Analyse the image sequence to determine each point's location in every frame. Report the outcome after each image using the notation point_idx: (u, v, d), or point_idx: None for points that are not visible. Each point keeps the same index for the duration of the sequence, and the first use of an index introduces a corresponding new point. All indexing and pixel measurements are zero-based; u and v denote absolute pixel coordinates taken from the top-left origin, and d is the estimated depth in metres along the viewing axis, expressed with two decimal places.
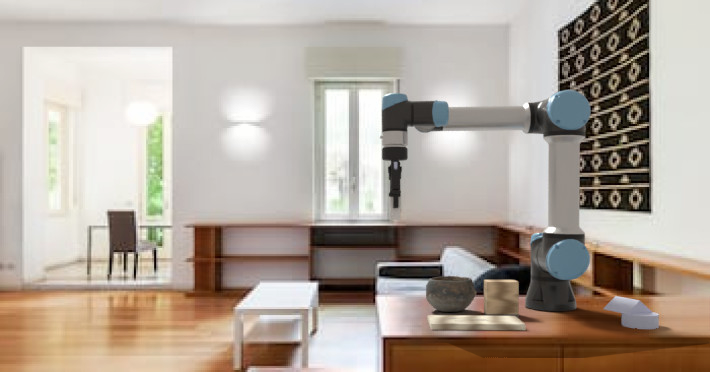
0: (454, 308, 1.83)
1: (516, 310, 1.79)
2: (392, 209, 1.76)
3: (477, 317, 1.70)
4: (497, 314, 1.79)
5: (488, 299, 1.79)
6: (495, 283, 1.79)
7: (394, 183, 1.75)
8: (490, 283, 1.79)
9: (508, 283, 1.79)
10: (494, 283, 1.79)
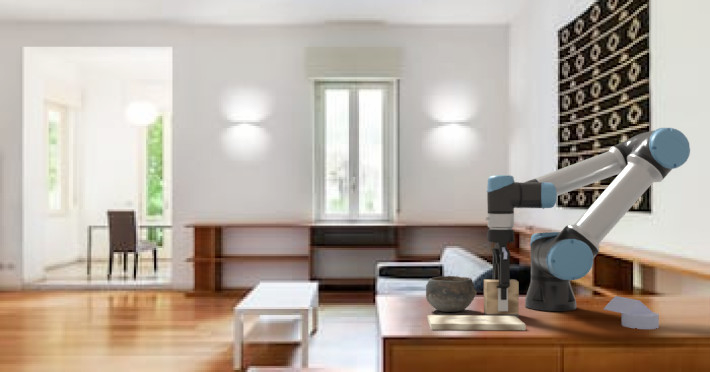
0: (454, 308, 1.83)
1: (516, 310, 1.79)
2: (500, 300, 1.78)
3: (477, 317, 1.70)
4: (497, 314, 1.79)
5: (488, 299, 1.79)
6: (495, 283, 1.79)
7: (503, 276, 1.75)
8: (490, 283, 1.79)
9: None
10: (494, 283, 1.79)
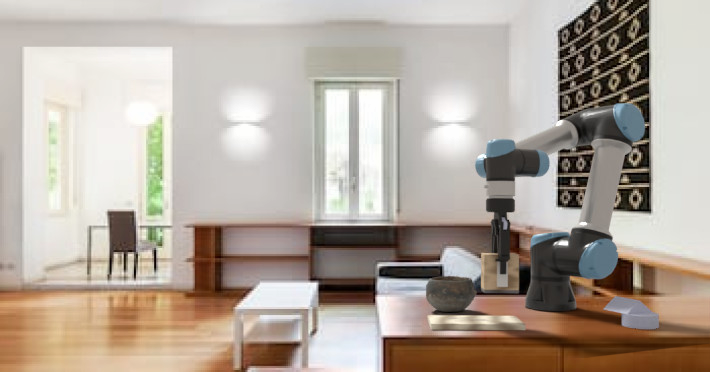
0: (454, 308, 1.83)
1: (516, 286, 1.64)
2: (499, 275, 1.63)
3: (477, 317, 1.70)
4: (495, 290, 1.64)
5: (486, 273, 1.64)
6: (494, 256, 1.64)
7: (503, 248, 1.61)
8: (488, 256, 1.64)
9: None
10: (492, 256, 1.64)
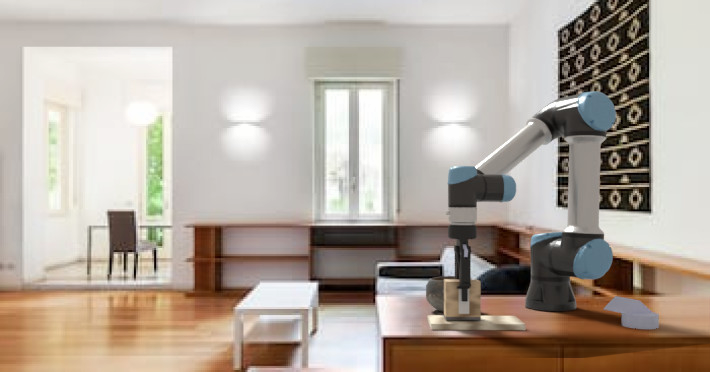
0: None
1: (477, 313, 1.64)
2: (460, 302, 1.64)
3: None
4: (457, 317, 1.64)
5: (447, 300, 1.64)
6: (455, 283, 1.64)
7: (464, 275, 1.61)
8: (450, 283, 1.64)
9: None
10: (454, 283, 1.64)
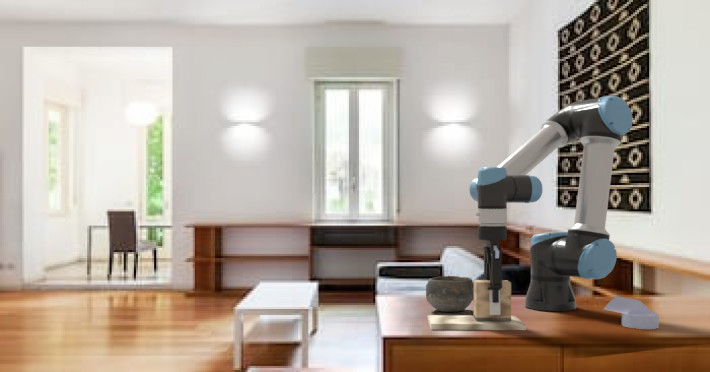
0: (454, 308, 1.83)
1: (508, 314, 1.64)
2: (491, 303, 1.63)
3: None
4: (487, 317, 1.64)
5: (478, 301, 1.64)
6: (486, 284, 1.64)
7: (495, 277, 1.61)
8: (480, 284, 1.64)
9: None
10: (484, 284, 1.64)
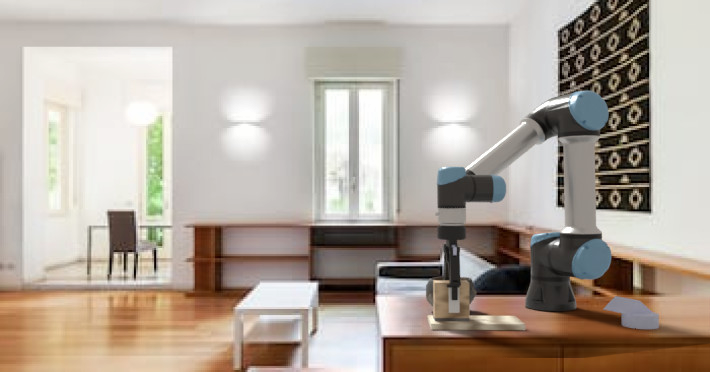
0: None
1: (466, 314, 1.64)
2: (450, 301, 1.62)
3: (477, 317, 1.70)
4: (446, 318, 1.64)
5: (436, 301, 1.65)
6: (444, 285, 1.65)
7: (453, 273, 1.59)
8: (438, 284, 1.65)
9: None
10: (443, 284, 1.65)
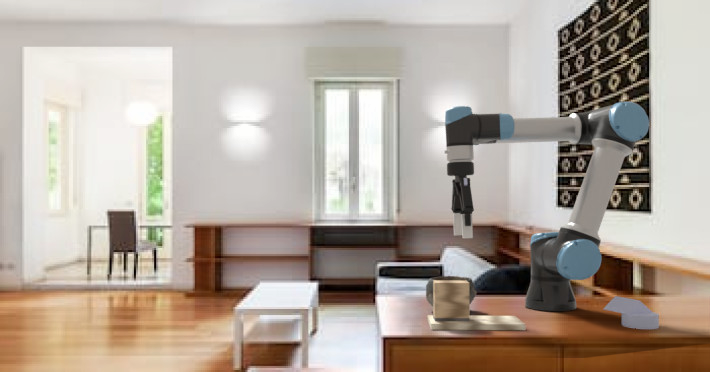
0: None
1: (466, 314, 1.64)
2: (464, 227, 1.70)
3: (477, 317, 1.70)
4: (446, 318, 1.64)
5: (436, 301, 1.65)
6: (444, 285, 1.65)
7: (466, 200, 1.68)
8: (438, 284, 1.65)
9: (458, 284, 1.65)
10: (443, 284, 1.65)
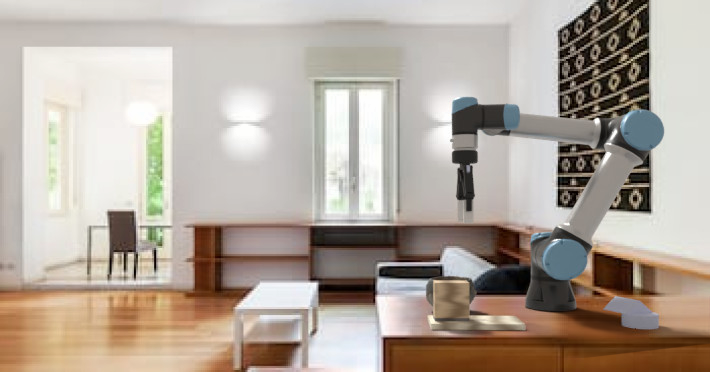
0: None
1: (466, 314, 1.64)
2: (465, 212, 1.77)
3: (477, 317, 1.70)
4: (446, 318, 1.64)
5: (436, 301, 1.65)
6: (444, 285, 1.65)
7: (468, 186, 1.75)
8: (438, 284, 1.65)
9: (458, 284, 1.65)
10: (443, 284, 1.65)
